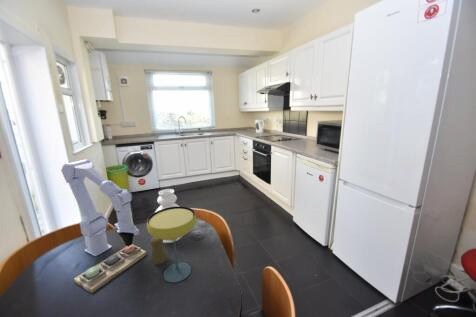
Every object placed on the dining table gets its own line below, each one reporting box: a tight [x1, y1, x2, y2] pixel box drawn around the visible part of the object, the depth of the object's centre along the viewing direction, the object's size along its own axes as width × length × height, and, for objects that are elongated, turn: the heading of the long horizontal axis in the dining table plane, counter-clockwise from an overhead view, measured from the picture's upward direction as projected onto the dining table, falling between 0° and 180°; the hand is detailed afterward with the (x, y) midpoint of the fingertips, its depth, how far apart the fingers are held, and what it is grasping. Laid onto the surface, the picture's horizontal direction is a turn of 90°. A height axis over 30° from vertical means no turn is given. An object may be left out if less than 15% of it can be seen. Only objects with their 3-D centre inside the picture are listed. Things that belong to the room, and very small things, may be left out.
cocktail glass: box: [146, 205, 197, 284], centre depth 83 cm, size 18×18×25 cm
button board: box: [73, 245, 148, 294], centre depth 90 cm, size 12×24×3 cm, turn 152°
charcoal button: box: [105, 253, 119, 266], centre depth 89 cm, size 4×4×2 cm
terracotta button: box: [123, 243, 136, 254], centre depth 96 cm, size 4×4×2 cm
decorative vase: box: [154, 188, 183, 244], centre depth 109 cm, size 18×18×25 cm
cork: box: [150, 236, 167, 265], centre depth 92 cm, size 6×6×11 cm
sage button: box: [84, 265, 100, 279], centre depth 82 cm, size 4×4×2 cm
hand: (129, 245), depth 96 cm, fingers closed
